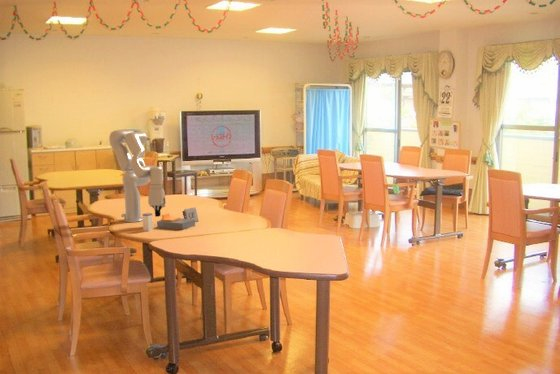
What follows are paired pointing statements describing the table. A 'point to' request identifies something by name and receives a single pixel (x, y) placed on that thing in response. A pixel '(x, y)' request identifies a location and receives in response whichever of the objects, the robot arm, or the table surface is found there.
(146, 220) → the plug
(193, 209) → the electrical switch
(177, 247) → the table surface
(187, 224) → the socket housing
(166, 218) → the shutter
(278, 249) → the table surface
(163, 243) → the table surface
